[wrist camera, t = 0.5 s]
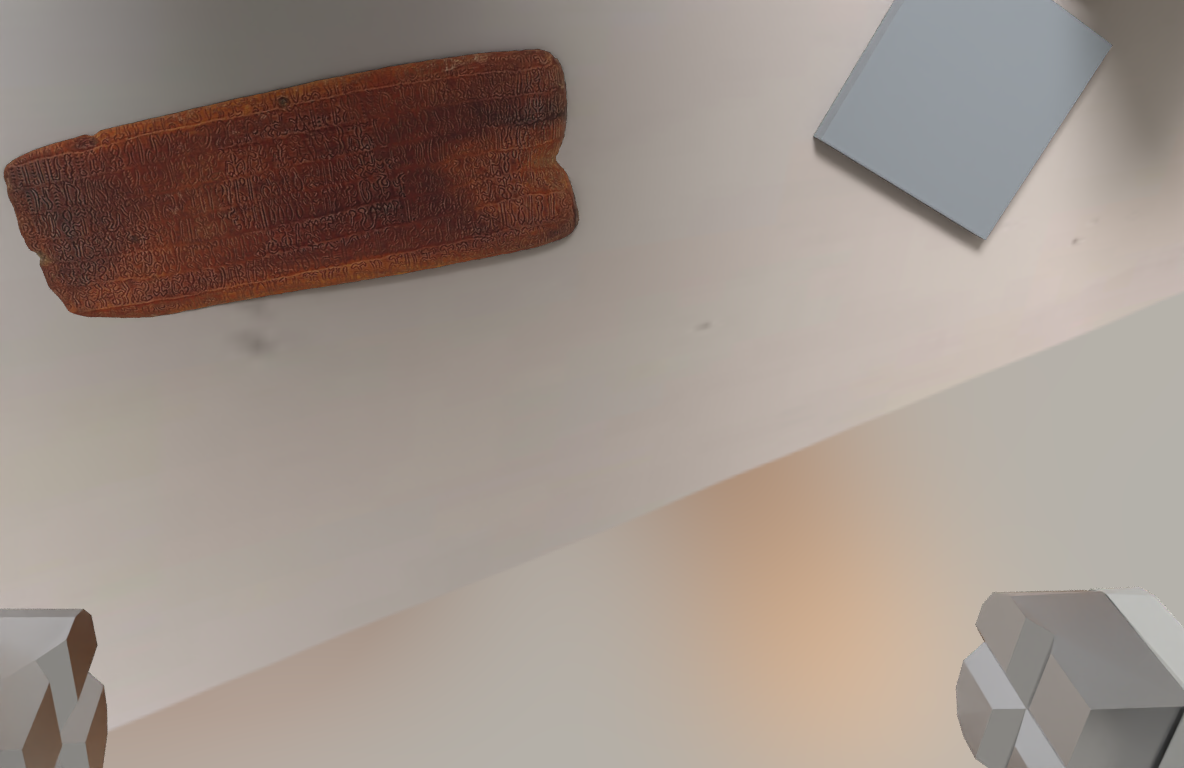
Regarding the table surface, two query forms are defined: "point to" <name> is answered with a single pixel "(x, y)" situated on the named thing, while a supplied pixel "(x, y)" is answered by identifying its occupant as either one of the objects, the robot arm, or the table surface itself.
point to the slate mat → (962, 99)
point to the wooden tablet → (302, 187)
